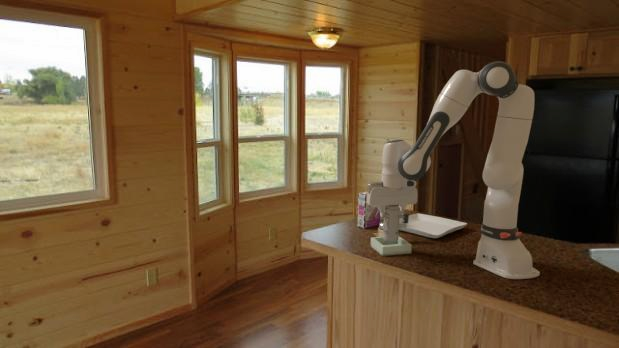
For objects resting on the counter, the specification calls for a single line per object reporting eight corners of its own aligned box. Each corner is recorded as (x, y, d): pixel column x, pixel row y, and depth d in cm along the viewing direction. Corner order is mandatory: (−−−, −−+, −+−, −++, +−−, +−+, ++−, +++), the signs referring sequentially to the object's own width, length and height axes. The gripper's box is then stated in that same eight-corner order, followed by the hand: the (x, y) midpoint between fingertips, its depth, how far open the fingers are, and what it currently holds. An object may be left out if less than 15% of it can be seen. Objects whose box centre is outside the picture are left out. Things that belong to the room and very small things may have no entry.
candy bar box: (364, 229, 197) (365, 194, 194) (356, 227, 200) (357, 192, 198) (380, 225, 204) (381, 191, 201) (372, 222, 207) (373, 189, 205)
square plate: (468, 230, 197) (468, 222, 196) (437, 243, 178) (437, 234, 178) (417, 219, 216) (417, 211, 216) (384, 229, 198) (384, 221, 197)
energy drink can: (399, 243, 167) (401, 207, 163) (383, 243, 167) (385, 207, 163) (396, 237, 172) (399, 202, 169) (381, 237, 173) (383, 202, 169)
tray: (411, 253, 165) (411, 244, 165) (382, 255, 162) (382, 247, 162) (397, 243, 177) (398, 235, 176) (370, 245, 174) (370, 237, 173)
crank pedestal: (394, 243, 177) (394, 230, 176) (381, 244, 176) (381, 231, 175) (381, 233, 191) (381, 221, 190) (368, 234, 189) (368, 222, 188)
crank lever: (381, 230, 176) (382, 216, 175) (377, 226, 180) (377, 213, 180) (411, 228, 178) (411, 214, 177) (406, 225, 183) (406, 211, 182)
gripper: (370, 184, 159) (369, 219, 162) (420, 182, 164) (418, 216, 167) (364, 180, 166) (363, 215, 168) (412, 179, 170) (410, 212, 173)
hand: (391, 216), depth 167 cm, fingers closed on energy drink can, 6 cm apart
